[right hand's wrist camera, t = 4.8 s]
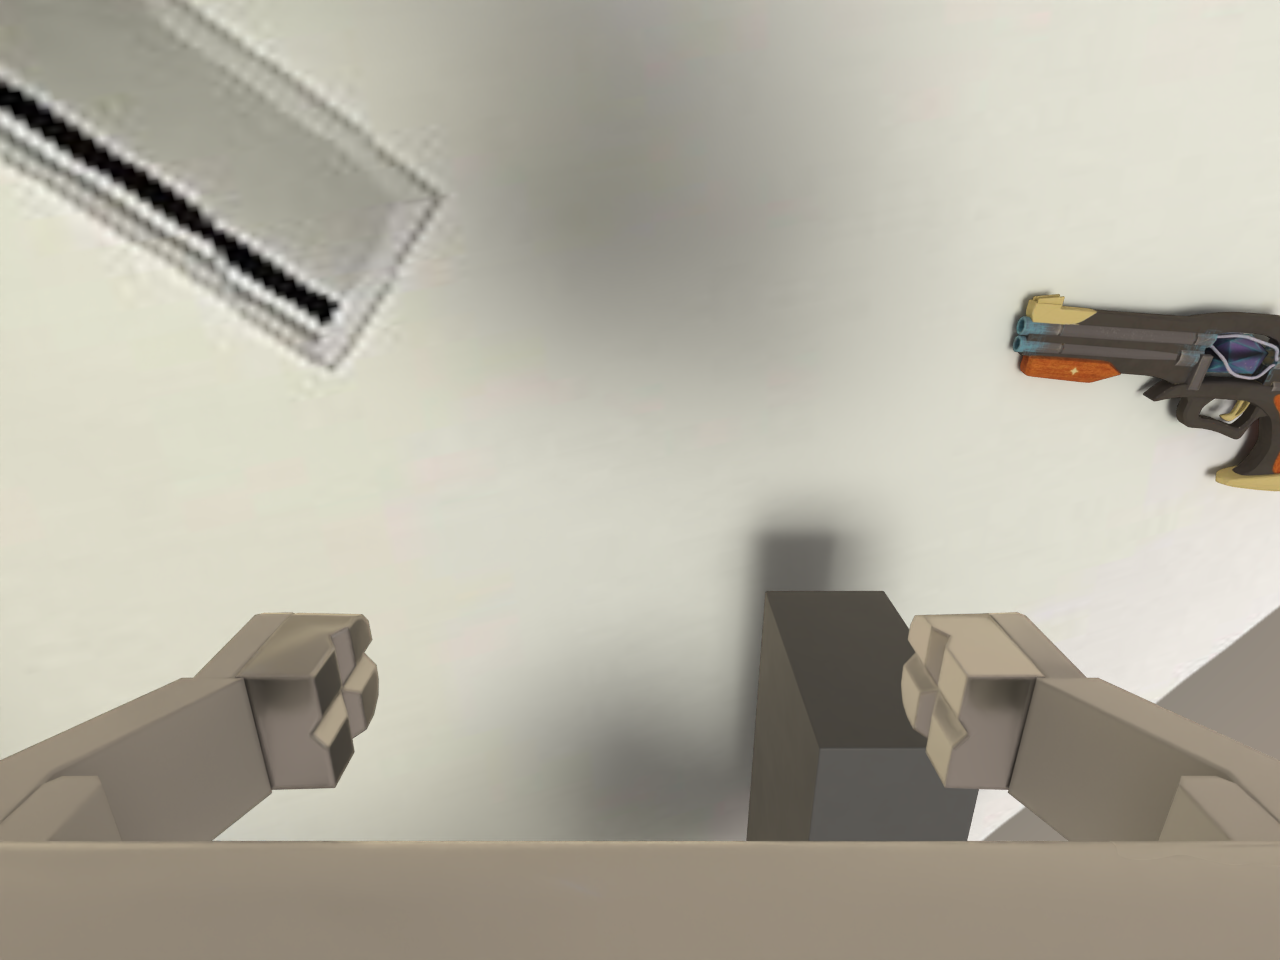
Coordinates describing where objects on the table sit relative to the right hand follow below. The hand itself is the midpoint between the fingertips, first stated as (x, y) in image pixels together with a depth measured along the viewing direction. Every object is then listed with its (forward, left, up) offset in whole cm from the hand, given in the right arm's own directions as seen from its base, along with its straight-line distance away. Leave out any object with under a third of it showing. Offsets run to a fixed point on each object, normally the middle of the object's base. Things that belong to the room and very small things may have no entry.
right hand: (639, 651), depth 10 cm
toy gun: (+3, +30, -30) cm, 42 cm away
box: (+22, +9, -22) cm, 33 cm away
